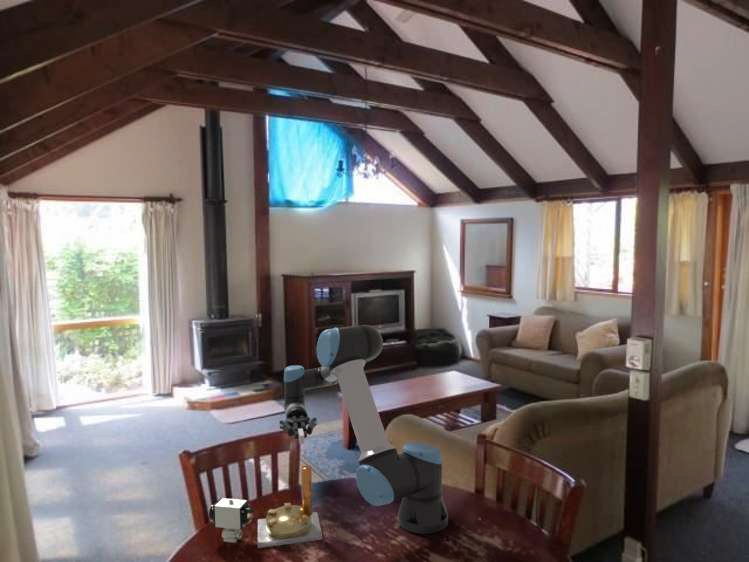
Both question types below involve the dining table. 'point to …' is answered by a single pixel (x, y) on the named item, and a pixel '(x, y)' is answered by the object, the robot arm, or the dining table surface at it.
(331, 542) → the dining table surface
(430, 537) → the dining table surface
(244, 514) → the pneumatic valve
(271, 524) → the brass lugged disc
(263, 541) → the flange plate
